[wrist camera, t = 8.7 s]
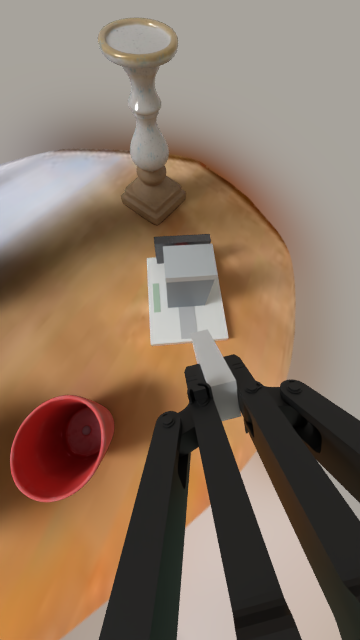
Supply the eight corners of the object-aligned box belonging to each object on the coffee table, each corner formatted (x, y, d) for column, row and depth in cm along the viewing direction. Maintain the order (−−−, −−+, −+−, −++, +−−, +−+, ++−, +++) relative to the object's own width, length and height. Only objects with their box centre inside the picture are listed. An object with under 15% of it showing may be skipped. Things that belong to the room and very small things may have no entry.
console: (226, 339, 38) (238, 329, 31) (151, 346, 37) (146, 336, 30) (212, 258, 44) (220, 233, 36) (147, 262, 43) (142, 237, 36)
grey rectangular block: (205, 305, 38) (217, 274, 28) (167, 308, 38) (165, 278, 27) (201, 281, 40) (212, 243, 29) (165, 283, 39) (162, 246, 29)
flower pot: (42, 427, 32) (-10, 442, 23) (99, 380, 35) (73, 377, 26) (78, 486, 30) (37, 529, 21) (137, 431, 33) (123, 448, 23)
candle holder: (157, 226, 46) (141, 69, 23) (121, 202, 48) (75, 35, 25) (186, 198, 49) (198, 35, 26) (151, 177, 51) (134, 7, 28)
